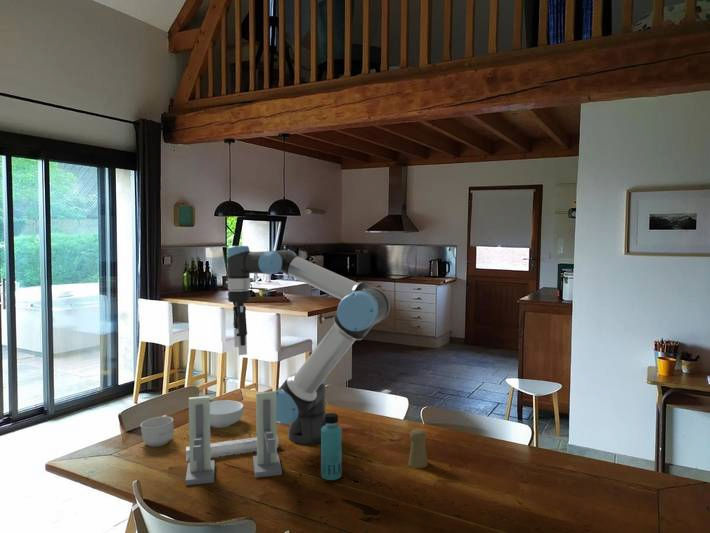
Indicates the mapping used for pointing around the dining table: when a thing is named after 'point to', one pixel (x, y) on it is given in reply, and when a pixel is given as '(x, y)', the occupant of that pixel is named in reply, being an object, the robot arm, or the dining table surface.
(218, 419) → the cereal bowl
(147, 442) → the teacup
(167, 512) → the dining table surface
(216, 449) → the hang rail
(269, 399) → the rail standards
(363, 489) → the dining table surface
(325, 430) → the beverage bottle
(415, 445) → the green shaker
